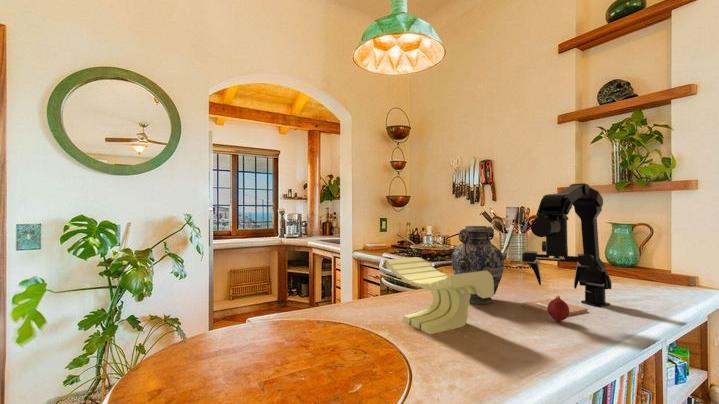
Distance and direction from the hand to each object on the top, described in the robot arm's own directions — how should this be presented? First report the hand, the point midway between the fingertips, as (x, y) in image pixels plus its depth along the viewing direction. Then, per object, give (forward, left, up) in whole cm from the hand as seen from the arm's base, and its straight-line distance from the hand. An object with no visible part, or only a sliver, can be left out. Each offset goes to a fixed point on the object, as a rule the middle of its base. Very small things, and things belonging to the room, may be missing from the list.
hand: (557, 286), depth 104 cm
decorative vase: (+5, -29, -11) cm, 31 cm away
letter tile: (-11, -10, -11) cm, 18 cm away
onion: (0, 0, -11) cm, 11 cm away
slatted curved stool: (+34, -15, -11) cm, 39 cm away
